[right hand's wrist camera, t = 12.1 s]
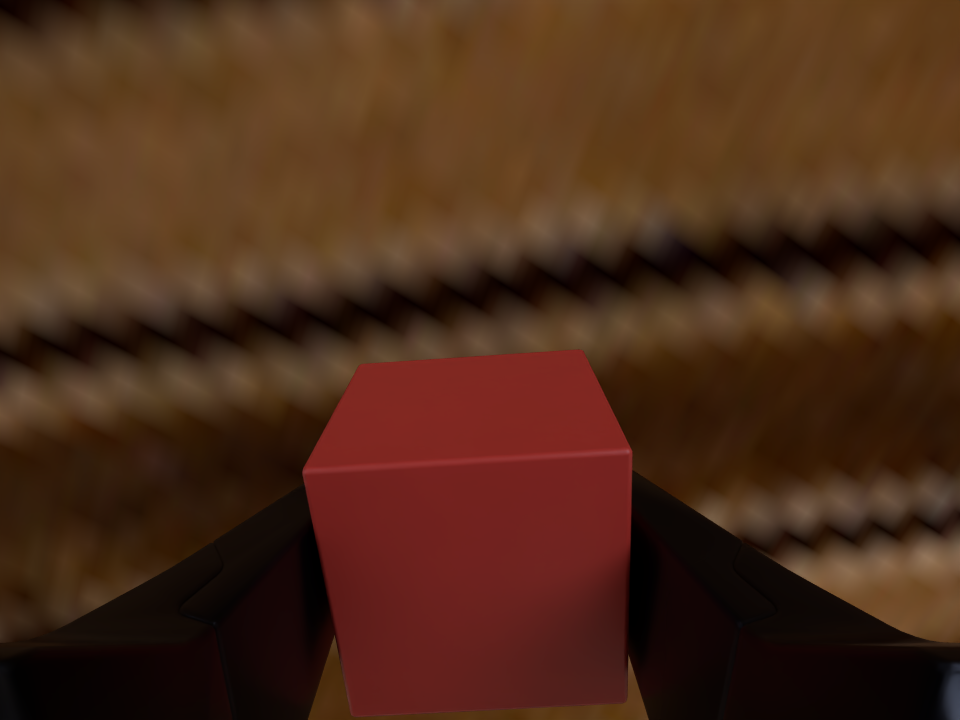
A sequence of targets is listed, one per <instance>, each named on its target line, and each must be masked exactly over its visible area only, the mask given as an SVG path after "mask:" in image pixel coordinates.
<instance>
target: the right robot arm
mask: <svg viewBox="0 0 960 720" xmlns="http://www.w3.org/2000/svg"><path fill="white" fill-rule="evenodd" d="M334 635H335V633H334V628H333V623H332V618H331V613H330V608H329V603H328V598H327V593H326V588H325V583H324V578H323V573H322V568H321V563H320V558H319V553H318V548H317V543H316V538H315V533H314V528H313V523H312V518H311V513H310V508H309V503H308V498H307V494H306V489H305V484H302V485H301V486H299V487H298V488H296V489H294V490H293V491H291V492H290V493H288V494H287V495H285V496H283V497H282V498H280V499H279V500H277V501H276V502H274V503H273V504H271V505H269V506H268V507H266V508H265V509H263V510H262V511H260V512H258V513H257V514H255V515H254V516H252V517H251V518H249V519H248V520H246V521H244V522H243V523H241V524H240V525H238V526H237V527H235V528H233V529H232V530H230V531H229V532H227V533H226V534H224V535H223V536H221V537H219V538H218V539H216V540H215V541H214V543H210V544H208V545H207V546H205V547H204V548H202V549H201V550H199V551H197V552H196V553H194V554H193V555H191V556H189V557H188V558H186V559H184V560H183V561H181V562H180V563H178V564H176V565H175V566H173V567H171V568H170V569H168V570H166V571H164V572H163V573H161V574H159V575H157V576H156V577H154V578H152V579H150V580H148V581H147V582H145V583H143V584H141V585H139V586H138V587H136V588H134V589H132V590H130V591H128V592H126V593H125V594H123V595H121V596H119V597H117V598H115V599H114V600H112V601H110V602H108V603H106V604H104V605H102V606H101V607H99V608H97V609H95V610H93V611H91V612H90V613H88V614H86V615H84V616H82V617H80V618H78V619H77V620H75V621H73V622H71V623H69V624H67V625H65V626H63V627H61V628H59V629H57V630H55V631H53V632H50V633H48V634H45V635H43V636H40V637H36V638H33V639H29V640H25V641H19V642H10V643H0V720H308V717H309V714H310V711H311V707H312V704H313V701H314V698H315V695H316V692H317V689H318V685H319V682H320V679H321V676H322V673H323V670H324V666H325V663H326V660H327V657H328V654H329V651H330V647H331V644H332V641H333V638H334ZM628 654H629V657H630V661H631V664H632V667H633V670H634V673H635V677H636V680H637V683H638V686H639V689H640V693H641V696H642V699H643V702H644V705H645V709H646V712H647V715H648V718H649V720H960V643H944V642H936V641H930V640H926V639H922V638H919V637H915V636H912V635H910V634H907V633H905V632H902V631H900V630H898V629H896V628H894V627H892V626H890V625H888V624H886V623H884V622H882V621H880V620H879V619H877V618H875V617H873V616H871V615H869V614H868V613H866V612H864V611H862V610H860V609H858V608H857V607H855V606H853V605H851V604H849V603H847V602H846V601H844V600H842V599H840V598H838V597H836V596H835V595H833V594H831V593H829V592H827V591H825V590H824V589H822V588H820V587H818V586H816V585H814V584H813V583H811V582H809V581H807V580H806V579H804V578H802V577H800V576H799V575H797V574H795V573H793V572H791V571H790V570H788V569H786V568H785V567H783V566H781V565H780V564H778V563H776V562H775V561H773V560H772V559H770V558H768V557H767V556H765V555H763V554H762V553H760V552H759V551H757V550H756V549H754V548H753V547H751V546H750V545H748V544H746V543H743V542H742V541H741V540H740V539H738V538H737V537H735V536H734V535H732V534H731V533H729V532H728V531H726V530H725V529H723V528H721V527H720V526H718V525H717V524H715V523H714V522H712V521H711V520H709V519H707V518H706V517H704V516H703V515H701V514H700V513H698V512H697V511H695V510H694V509H692V508H690V507H689V506H687V505H686V504H684V503H683V502H681V501H680V500H678V499H677V498H675V497H673V496H672V495H670V494H669V493H667V492H666V491H664V490H663V489H661V488H659V487H658V486H656V485H655V484H653V483H652V482H650V481H649V480H647V479H646V478H644V477H642V476H641V475H639V474H638V473H636V472H635V471H633V470H632V498H631V547H630V596H629V645H628Z"/></svg>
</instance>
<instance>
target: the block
mask: <svg viewBox="0 0 960 720" xmlns="http://www.w3.org/2000/svg"><path fill="white" fill-rule="evenodd" d="M302 474H303V479H304V484H305V489H306V494H307V498H308V503H309V508H310V513H311V518H312V523H313V528H314V533H315V538H316V543H317V548H318V553H319V558H320V563H321V568H322V573H323V578H324V583H325V588H326V593H327V598H328V603H329V608H330V613H331V618H332V623H333V628H334V633H335V638H336V643H337V648H338V653H339V658H340V663H341V668H342V673H343V678H344V683H345V688H346V693H347V698H348V703H349V708H350V712H351V715H352V716H354V717H367V716H386V715H405V714H425V713H444V712H463V711H483V710H502V709H521V708H541V707H560V706H580V705H599V704H618V703H624V702H626V700H627V694H628V645H629V596H630V547H631V498H632V450H631V448H630V446H629V444H628V442H627V440H626V438H625V436H624V434H623V432H622V430H621V427H620V425H619V423H618V421H617V419H616V417H615V415H614V413H613V411H612V409H611V407H610V405H609V403H608V401H607V399H606V397H605V395H604V393H603V391H602V389H601V387H600V385H599V382H598V380H597V378H596V376H595V374H594V372H593V370H592V368H591V366H590V364H589V362H588V360H587V358H586V356H585V354H584V352H583V351H582V350H565V351H550V352H535V353H520V354H505V355H490V356H475V357H460V358H445V359H430V360H415V361H400V362H385V363H370V364H361V365H359V366H358V368H357V370H356V372H355V374H354V376H353V377H352V379H351V381H350V383H349V385H348V387H347V389H346V390H345V392H344V394H343V396H342V398H341V400H340V401H339V403H338V405H337V407H336V409H335V411H334V413H333V414H332V416H331V418H330V420H329V422H328V424H327V426H326V427H325V429H324V431H323V433H322V435H321V437H320V439H319V440H318V442H317V444H316V446H315V448H314V450H313V452H312V453H311V455H310V457H309V459H308V461H307V463H306V464H305V466H304V468H303V472H302Z"/></svg>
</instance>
